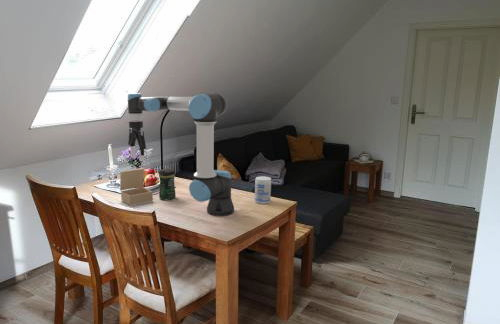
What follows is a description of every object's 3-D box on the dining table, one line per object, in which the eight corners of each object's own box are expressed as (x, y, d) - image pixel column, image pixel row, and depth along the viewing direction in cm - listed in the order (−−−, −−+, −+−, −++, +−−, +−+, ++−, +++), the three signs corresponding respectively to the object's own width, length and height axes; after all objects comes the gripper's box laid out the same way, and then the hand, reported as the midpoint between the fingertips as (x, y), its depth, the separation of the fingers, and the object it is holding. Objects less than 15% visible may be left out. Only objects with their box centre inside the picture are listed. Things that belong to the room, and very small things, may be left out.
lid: (143, 168, 235) (143, 168, 235) (120, 171, 225) (120, 171, 226) (143, 186, 239) (142, 186, 239) (120, 190, 229) (120, 190, 230)
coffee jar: (166, 201, 231) (165, 171, 227) (157, 198, 236) (156, 169, 232) (178, 197, 239) (177, 168, 235) (169, 195, 243) (168, 166, 239)
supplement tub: (257, 204, 228) (257, 180, 224) (252, 200, 236) (252, 176, 233) (272, 203, 230) (273, 179, 227) (267, 198, 239) (268, 175, 236)
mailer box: (152, 201, 231) (152, 191, 229) (130, 206, 222) (129, 196, 220) (143, 196, 240) (143, 187, 238) (121, 200, 231) (121, 191, 229)
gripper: (151, 122, 212) (153, 161, 217) (133, 118, 229) (135, 155, 234) (138, 123, 207) (140, 163, 212) (120, 119, 224) (122, 156, 229)
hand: (137, 159), depth 223 cm, fingers open, 11 cm apart
